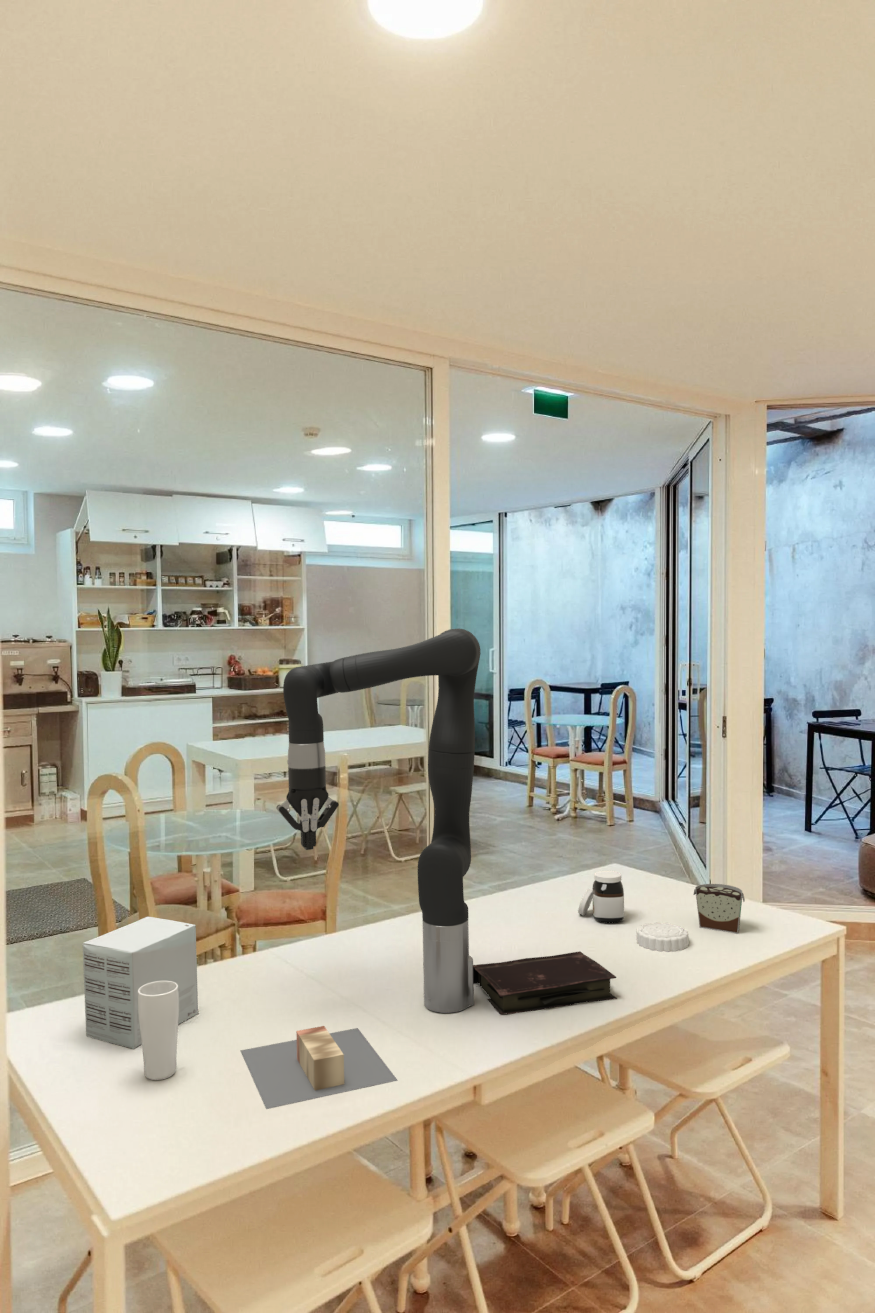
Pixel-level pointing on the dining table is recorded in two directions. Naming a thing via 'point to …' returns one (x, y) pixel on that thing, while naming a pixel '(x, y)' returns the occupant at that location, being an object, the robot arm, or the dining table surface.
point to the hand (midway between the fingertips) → (308, 849)
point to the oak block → (320, 1057)
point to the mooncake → (662, 937)
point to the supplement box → (136, 975)
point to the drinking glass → (159, 1027)
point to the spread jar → (605, 898)
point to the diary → (543, 982)
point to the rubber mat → (289, 1083)
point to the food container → (719, 907)
